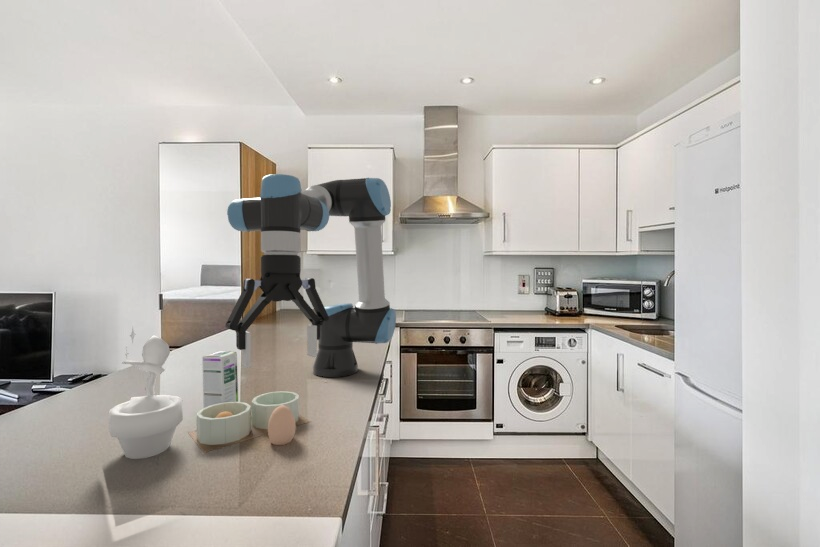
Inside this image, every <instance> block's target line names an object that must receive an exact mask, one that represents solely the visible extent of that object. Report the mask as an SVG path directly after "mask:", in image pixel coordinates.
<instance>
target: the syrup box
mask: <svg viewBox="0 0 820 547" xmlns="http://www.w3.org/2000/svg"><path fill="white" fill-rule="evenodd" d="M201 359H202V395H203V397H202V399H203V408H206V407H208V406H210V405H215V404H219V403H224V402H239V392H238V391H239V390H238V387H239V386H238V385H239V384H238V381H239V380H238V376H239V375H238V353H237V352H236V351H231V350H225V351H224V350H222V351H219V350H218V351H216V352H214V353H210V354H207V355H206V354H205V355H203V356H202V357H201Z"/></svg>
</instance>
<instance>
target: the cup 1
mask: <svg viewBox="0 0 820 547" xmlns="http://www.w3.org/2000/svg"><path fill="white" fill-rule="evenodd" d="M224 411H228V412H231V413H232V414H233V415H232V416H228V417H222V418H216V416H217V415H218V414H219V413H221V412H224ZM251 416H252V405H250V404H249V403H247V402H242V401H238V402H224V403H219V404H215V405H210V406H208V407H206V408H204V407H203V408H201V409H200V410H198V412H197V413H196V430H197V440H198V441H199V442H200V443H202V444H207V445H218V444H227V443H230V442H234V441H237V440H240V439H242V438H244V437H245V436H247V435H249V433H250V431H251Z"/></svg>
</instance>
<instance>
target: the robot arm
mask: <svg viewBox="0 0 820 547" xmlns="http://www.w3.org/2000/svg"><path fill="white" fill-rule="evenodd" d="M301 184H302V183H301V181H300V179H299V178H298V177H296V176H293V175H290V174H284V173H274V174H267V175H265V176H263V177H262V179H261V186H260V195H259V197H250V198H246V197H245V198H244V197H243V198H238V199H233V200H231V202H229V204H228V207H227V209H226V212H227V213H226V214H227V219H228V220H227V221H228V223H229V224H230V226H231V227H232V228H233V229H234V230H235V231H237V232H248V233H249V232H260V252H262V253H264V254H262V255H261V256H260V279H257V280H256V279H253V278H245V279H244V280H243V283H242V284H243V285H242V291H241V293H240V295H239V297H238V299H237V301H236V303H235V305H234V306H233V309H232V311H231V313H230V315H229V317H228V319H227V321H226V323H225V325H224V326H225V328H226V329H228V330H230V331H234V332H235V334H236V335H235V337H236V339H235V340H236V349H237V350H239V351H241V367H244V368H245V369H249V368H251V367H252V363H251V362H252V358H251V357H252V355H251V354H252V353H251V352H252V351H251V350H252V345H251V344H252V343H251V342H252V336H251V335H252V332H250V331H248V329H249V328H250V326H252V324H253V323H254V322H255V320H257V319H258V317H259V315H260V314H261V313H262V311H263V310H264V309H265V308H266V307H267V305H268V304H270V303H272V302H282V301H285V302H291V301H292V302H293V303H294V304H295V306H296V307H298V309H299V310H300V311H301V312H302V313H303V315H304V316H305V317H306V319H308V321H309V323H311V324H307V325H306V326H307V328H306V329H307V335H306V337H307V339H306V340H307V341H306V342H307V344H306V345H307V349H306V350H307V352H306V353H307V354H306V355H307V356H309V357H312V358H315V359H314V363H313V366H312V374H314V375H315V376H317V375H318V376H317V377H322V376H323V377H322V378H341V376H342V377H346V376H347V375H348V376H351V375H354V374H356V373H357V372H358V371H359V370H358V368H359V365H358V361H357V359H356V358H357V357H356V356H355V353H354V349H353V346H354V345H353V344H354V343H364V344H365V343H366V344H375V345H378V344H387V343H389V342H390V341H391V339H392V337H393V335H394V333H395V329H396V324H397V313H396V309H394V308H392V307H390V306H391V305H390V304H391V302H390V301H389V300H388V299H387V298H386V296H385V295H386V293H385V277H384V274H385V273H384V261H383V260H384V258H383V257H384V256H383V255H384V254H383V240H382V239H383V238H382V237H383V236H382V226H383V225H384V224H385V222H386V216H388V215H390V213H391V208H392V201H391V196H390V192H389V191H390V190H389V189H388V186H387V185H386V182H385V181H384V180H382V179H381V178H379V177H366V178H365V177H364V178H350V179H335V180H331V181H327V182H322V183H319V184H314V185H311V186H309V187H307V188H306V189H305V190H302V187H301ZM330 217H348V221H349V222H348V223H349V224H350V225H351V226H353V227H354V241H355V242H354V244H355V256H356V258H355V259H356V274H357V286H358V287H357V288H358V289H357V290H358V292H357V293H358V300H357V301H356V302H355V304H354V305H353V303H349V302H348V303H340V304H339V303H338V304H333V305H327V306H324V304H323V301H322V299H321V296H320V294H319V293H318V290H317V288H316V287H317V286H316V279H315V278H314V277H313V278H311V277H305V278H303V279H301V270H302V268H301V266H302V265H301V258H302V257H300V255H299V254H300V253H301V248H302V247H301V244H302V243H301V242H302V240H301V238H302V237H301V235H302V234H301V231H306V232H319V231H321V230H323V229H324V228H326V227H327V224H328V223H329V221H330V220H329V219H330ZM258 287H259V288H260V290H261V294H260V295H259V296H258V297H257V300H256V301H255V303H254V304H253V305H252V306H251V307H250V309H249V310H248V311H247V312H246V314H245V315H244V313H245V311H246V309H247V307H248V305H249V303H250V301H251V299H252V297H253V295H254V291H257V289H258ZM301 288H302V289H304V290H305V292H306V294H307V297H308V299H309V301H310V303H311V306H312V307H311V306H310V305H309V303H308V302H307V301H306V300H305V299H304V296H303V295H302V293H301V292H300V289H301ZM312 308H313V309H312ZM243 315H244V316H243Z"/></svg>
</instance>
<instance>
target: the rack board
mask: <svg viewBox="0 0 820 547" xmlns="http://www.w3.org/2000/svg"><path fill="white" fill-rule="evenodd" d="M311 422H312V421H311V420H309V419H308V418H306V417H304V416H303V415H301V414H299V419H298V421H297V422H295V425H296V427H298V426H300V425H304V424H307V423H311ZM187 434H188V435H189V436H190V438H192V440H193V442H195V444H196V445H197V446H198V448H199V449H200V450H201V451H202V452H203V453H207V452H211V451H215V450H218V449H221V448H225V447H229V446H232V445H235V444H238V443H241V442H245V441H248V440H253V439H256V438H260V437H262V436H266V435H268V429H260V428H256V427H255V426H253V425H252V415H251V431H250V433H249V435H247V436H245V437H244V438H242V439H240V440H237V441H234V442H230V443H227V444H218V445H207V444H202V443H200V442H199V441H198V440H197V429H195V430H192V431H188V432H187Z"/></svg>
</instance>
